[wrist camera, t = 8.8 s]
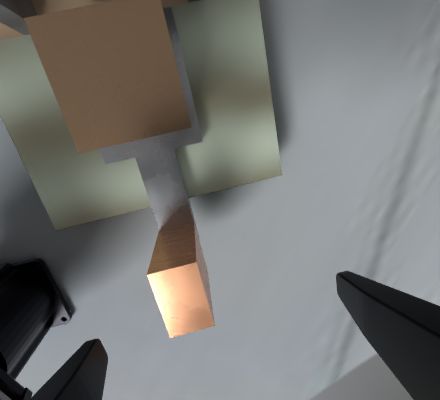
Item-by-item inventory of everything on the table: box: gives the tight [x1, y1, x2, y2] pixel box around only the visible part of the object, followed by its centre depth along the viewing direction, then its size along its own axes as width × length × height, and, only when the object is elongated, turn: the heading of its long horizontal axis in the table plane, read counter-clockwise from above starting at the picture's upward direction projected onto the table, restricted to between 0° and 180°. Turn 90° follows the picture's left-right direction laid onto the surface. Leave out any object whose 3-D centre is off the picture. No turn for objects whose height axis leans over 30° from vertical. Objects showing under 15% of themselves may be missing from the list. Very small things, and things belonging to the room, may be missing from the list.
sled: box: [24, 0, 215, 338], centre depth 13 cm, size 16×6×6 cm, turn 12°
